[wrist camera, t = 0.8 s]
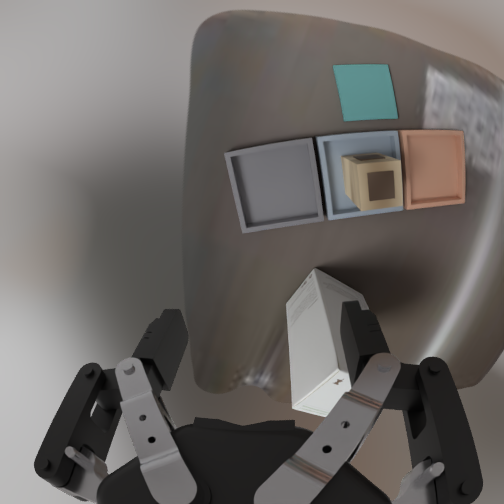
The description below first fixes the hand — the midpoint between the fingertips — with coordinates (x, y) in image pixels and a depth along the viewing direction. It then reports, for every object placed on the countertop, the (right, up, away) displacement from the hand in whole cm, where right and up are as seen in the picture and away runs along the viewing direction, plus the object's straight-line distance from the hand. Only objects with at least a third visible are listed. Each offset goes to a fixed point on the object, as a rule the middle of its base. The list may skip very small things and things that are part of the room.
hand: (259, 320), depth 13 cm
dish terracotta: (+20, +13, +12) cm, 26 cm away
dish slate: (+11, +12, +13) cm, 21 cm away
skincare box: (+9, -2, +20) cm, 22 cm away
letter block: (+11, +11, +13) cm, 20 cm away
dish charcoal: (+2, +10, +15) cm, 18 cm away
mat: (+11, +19, +9) cm, 24 cm away
